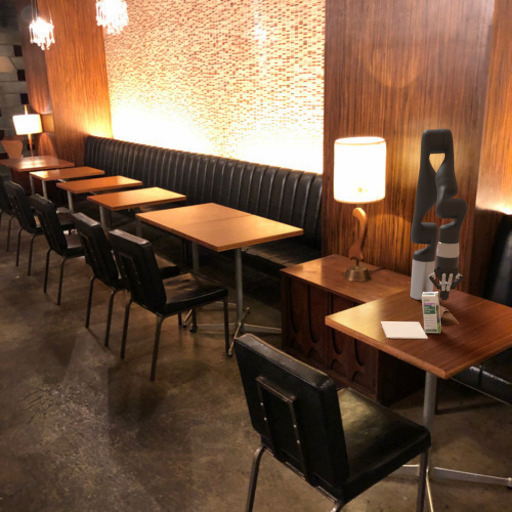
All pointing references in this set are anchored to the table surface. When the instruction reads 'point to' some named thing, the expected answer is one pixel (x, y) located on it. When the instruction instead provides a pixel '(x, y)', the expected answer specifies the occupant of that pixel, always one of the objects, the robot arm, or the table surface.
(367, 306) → the table surface
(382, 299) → the table surface
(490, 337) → the table surface
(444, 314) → the sunglasses case
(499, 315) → the table surface
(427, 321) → the syrup box
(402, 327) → the placemat
